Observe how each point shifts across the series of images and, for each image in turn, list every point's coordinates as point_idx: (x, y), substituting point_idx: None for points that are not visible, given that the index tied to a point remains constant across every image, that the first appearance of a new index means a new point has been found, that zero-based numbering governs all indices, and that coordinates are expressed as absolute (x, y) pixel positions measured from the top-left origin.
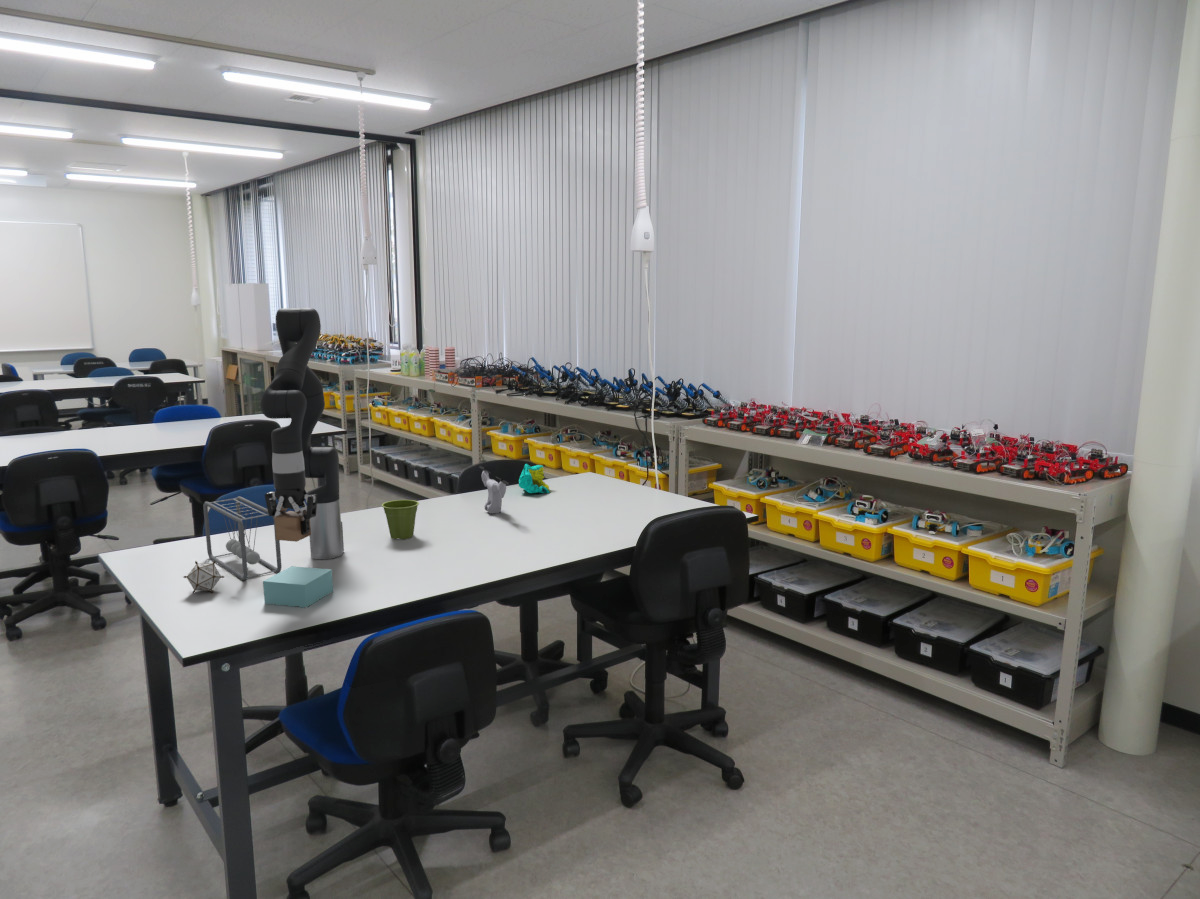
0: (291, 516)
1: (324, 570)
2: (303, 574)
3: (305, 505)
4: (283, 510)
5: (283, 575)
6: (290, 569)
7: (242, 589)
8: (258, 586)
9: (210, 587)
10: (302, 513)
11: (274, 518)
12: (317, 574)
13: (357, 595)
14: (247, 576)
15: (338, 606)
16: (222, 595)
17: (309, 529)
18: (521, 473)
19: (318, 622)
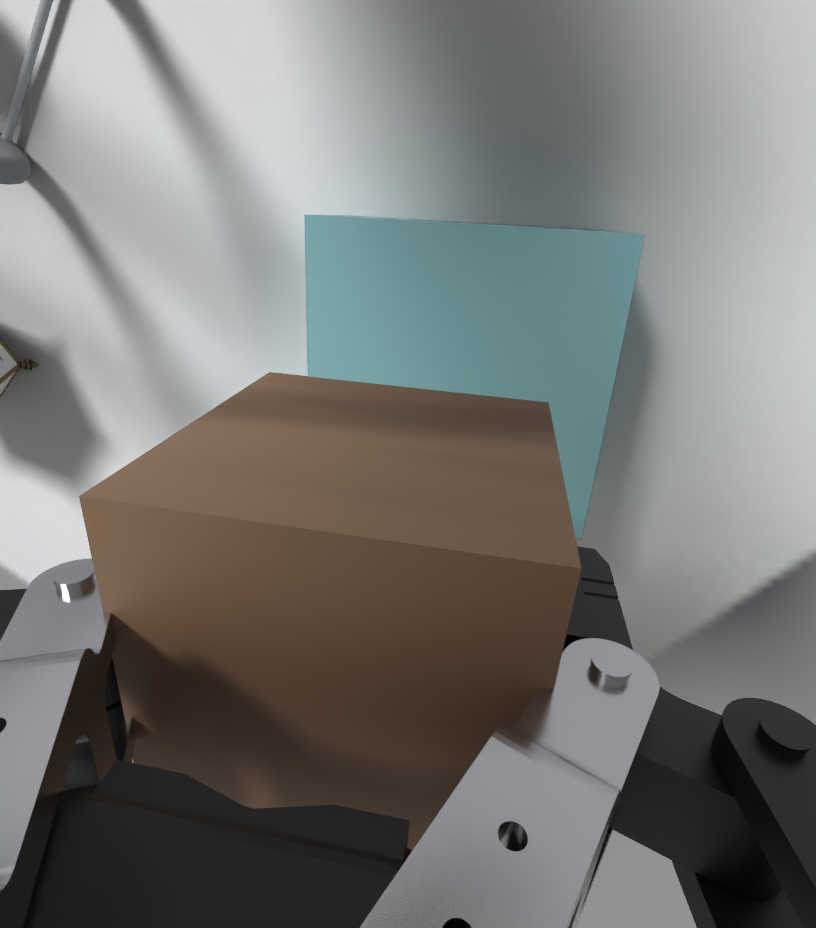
0: (373, 801)
1: (593, 264)
2: (481, 369)
3: (584, 880)
4: (114, 753)
5: None
6: (340, 289)
7: (118, 295)
8: (158, 236)
9: (10, 376)
10: (589, 887)
11: None
12: (578, 356)
13: (800, 272)
14: (25, 165)
15: (731, 445)
16: (98, 385)
17: (608, 574)
18: None
19: (697, 617)
